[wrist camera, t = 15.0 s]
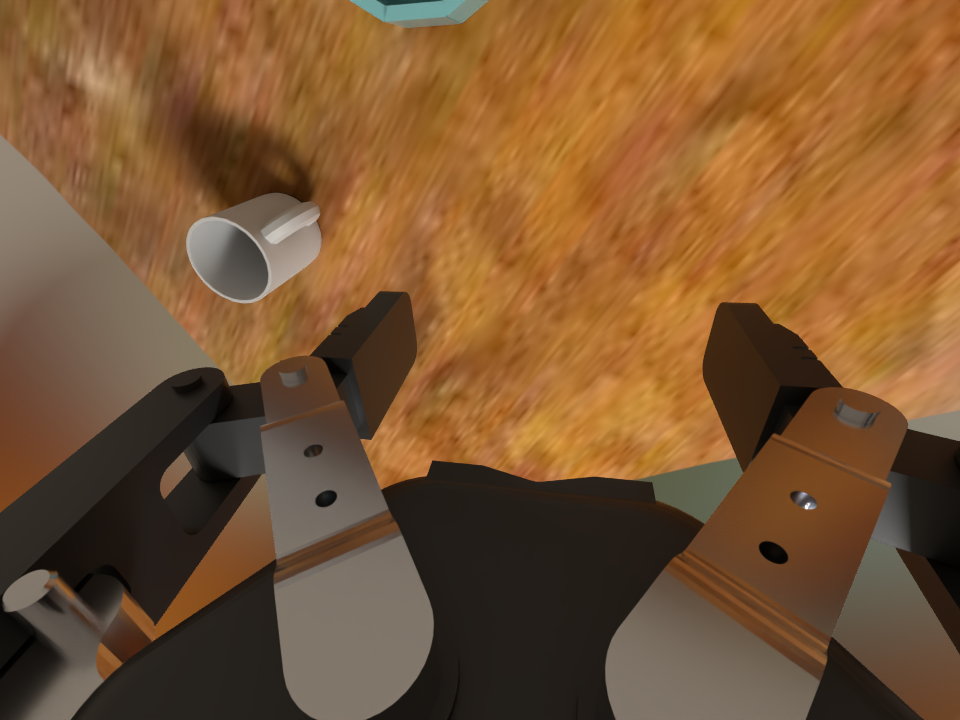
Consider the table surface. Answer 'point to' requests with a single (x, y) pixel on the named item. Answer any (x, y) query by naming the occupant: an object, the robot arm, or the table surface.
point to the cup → (254, 245)
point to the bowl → (421, 11)
